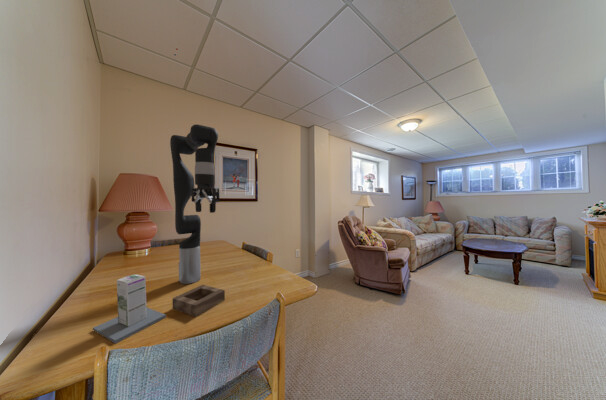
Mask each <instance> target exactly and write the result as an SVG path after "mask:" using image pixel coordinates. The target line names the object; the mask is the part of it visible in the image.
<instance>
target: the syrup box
mask: <svg viewBox="0 0 606 400" xmlns="http://www.w3.org/2000/svg"><path fill="white" fill-rule="evenodd" d="M116 295H117V299H116V300H117V301H116V302H117V317H118V323H120V324H122V325H125V326H127V327H129V326H131V325H133V324H135V323H137V322H139V321H141V320H143V319H145V318H147V310H146V307H147V287H146V275H140V274H137V273H135V274H130V275H126V276H124V277H121V278H119V279H116Z"/></svg>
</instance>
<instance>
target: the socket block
mask: <svg viewBox="0 0 606 400" xmlns="http://www.w3.org/2000/svg"><path fill="white" fill-rule="evenodd" d="M225 295H226V291H225V290H224V289H223V288H217V287H213V286H209V285H206V284H201V285H198V286H196V287H194V288H192V289H190V290H188V291H186V292H183V293H181V294H178V295H177V296H175V297H172V309H173V310H174V311H177V312H181V313H184V314H186V315H188V316H192V317H194V318H197V317H199V316H200V315H201V314H204V313H205V312H207V311H209V310H210V309H212V308H213V307H215V306H217V305H219V304H221V303H222V302H224V301H225V300H226V297H225Z"/></svg>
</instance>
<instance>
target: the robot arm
mask: <svg viewBox="0 0 606 400" xmlns="http://www.w3.org/2000/svg"><path fill="white" fill-rule="evenodd" d="M218 140H219V133H218V130H217V129H216V128H214V127H211V126H206V125H203V124H198V123H197V124H193V125H192V126H191V127H190V131H189V133H187V135H186V136H185V135H184V136H183V135H178V134H173V135H171V137H170V141H169V143H170V144H169V145H170V153H171V161H172V173H173V174H172V175H173V176H172V178H173V179H172V181H173V192H174V204H175V205H174V207H175V208H174V209H175V211H174V213H175V215H174V217H175V218H174V224H175V225H174V227H175V231H176V233H177V235H188V234H191V235H190V236H188V237H187V238H186V239H182V240H181V241H179V243H178V246H179V248H178V249H179V250H178V251H179V253H178V254H179V262H178V282H179V283H180V284H183V285H189V284H194V283H196V282H198V281H200V280H201V275H202V274H201V229H202V227H201V226H202V223H201V217H200V216H199V214H198V215H197V214H189V215H184V213H185V212H184V211H185V208H186V206H187V203H188V202H189V200H190V199H191V202H192V203H194V204H195V212H196V213H201V212H202V202H203V200H204V199H207V200H208V202H209V213H211V214H212V213H216V209H217V207H216V205H217V203H219V202H220V200H221V199H220V188H219V187H217V186H216V187H215V184H216V181H215V180H216V178H215V170H216V169H215V160H214V159H215V156H214V155H215V151H216V145H217V142H218ZM205 144H206V145H207V146H206V147H202V146H204V145H205ZM193 154H195V155H194V156H195V160H194V161H195V163H194V164H195V165H194V176H193V173H192V172H191V170H189V169H188V167H187V166H186V164H185V163H184V161H183V159H182V157H181V155H186V156H187V155H190V156H191V155H193ZM195 185H196V186H197V187H195Z"/></svg>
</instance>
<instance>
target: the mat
mask: <svg viewBox="0 0 606 400" xmlns="http://www.w3.org/2000/svg"><path fill="white" fill-rule="evenodd" d="M146 310H147V318H145V319H143V320H141V321H139V322H137V323H135V324H133V325H131V326H129V327H127V326H125V325H122V324H120V323H118V316H117V317H114V318H112V319H109V320H107V321H105V322H102V323H100V324H97V325H95V326H93V327H92V331H93V330H94V331H96V332H98V333H99V334H101V335H103V336H104V337H106V338H107V339H106V338H105V339H106V340H108V339H109V340H110V342H111V341H112V342H111V343H113V344H115V345H116V344H118V343H120V342H122V341H123V339H124V340H125V338H126V339H127V338H130V337H131V336H133V335H135V334H137V333H139V332H140V331H143V330H145V329H147V328H149V327H151V326H152V325H154V324H156V323H158V322H160V321H162V320H163V319H167V314H165V313H162V312H160V311H157V310H155V309H152V308H149V307H147V306H146ZM94 331H93V332H94ZM96 332H95V333H96ZM98 333H97V334H98ZM99 334H98V335H99ZM101 335H100V336H101ZM103 336H102V337H103ZM104 337H103V338H104ZM109 340H108V341H109Z"/></svg>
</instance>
